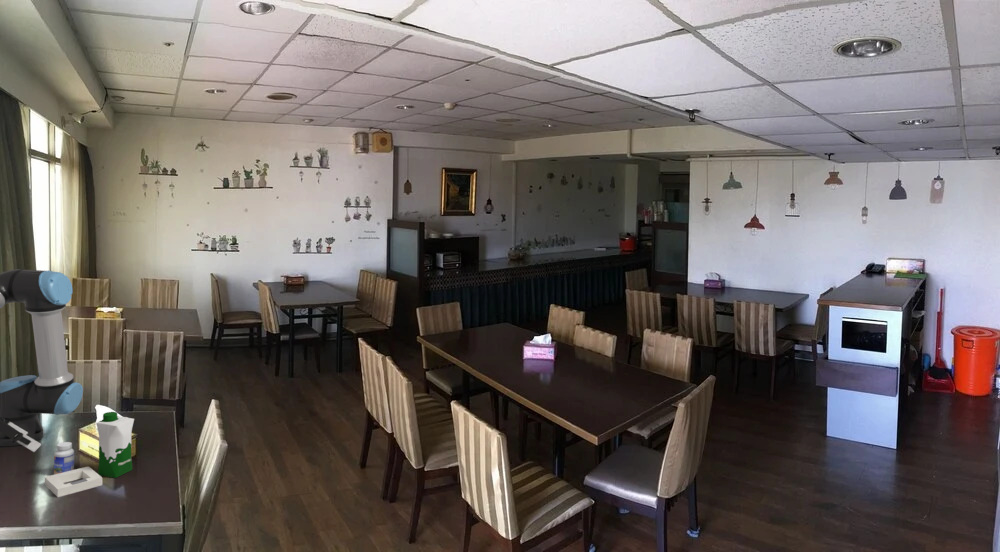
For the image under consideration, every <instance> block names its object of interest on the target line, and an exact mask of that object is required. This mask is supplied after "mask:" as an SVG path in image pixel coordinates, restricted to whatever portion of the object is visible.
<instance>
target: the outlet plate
mask: <svg viewBox="0 0 1000 552" xmlns="http://www.w3.org/2000/svg"><path fill="white" fill-rule="evenodd" d="M44 485H45V487H46V488H47V489H48V490H49V491H51V492H52V494H54V495H55V496H56V497H57V498H60V497H65V496H67V495H68V496H69V495H71V494H76V493H79V492H82V491H86V490H89V489H93V488H97V487H100V486H103V477H102V475H99V474H98V472H96V471H95V470H93V468H91V467H90V466H85V467H81V468H80V467H79V468H77V469H76V468H74V470H71V471H67V472H63V473H59V474H51V475H47V476H44Z"/></svg>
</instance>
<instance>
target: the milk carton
mask: <svg viewBox="0 0 1000 552" xmlns="http://www.w3.org/2000/svg"><path fill="white" fill-rule="evenodd" d="M134 421H135V418H131V417H127V416H120V415H118V412H116V411H108V412H104V413H103V414H102V419H101V420H99V421H97V422H95V424H96V428H97V433H98V469H97V474H99V475H100V476H101V477H102V476H103V477H107V478H115V479H116V478H118V477H120V476H123V475H124V474H127V473H128V472H129V473H130V472H131V471H132V470H133V461H132V431H133V426H134Z"/></svg>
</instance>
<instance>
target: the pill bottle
mask: <svg viewBox="0 0 1000 552" xmlns="http://www.w3.org/2000/svg"><path fill="white" fill-rule="evenodd" d="M72 447H73V443H72V442H70V441H64V442H59V443H57V444H56V450H55V452H53V453H54V454H53V475H55V474H59V473H63V472H67V471H71V470H75V449H73V448H72Z"/></svg>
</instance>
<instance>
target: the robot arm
mask: <svg viewBox="0 0 1000 552" xmlns="http://www.w3.org/2000/svg"><path fill="white" fill-rule="evenodd" d="M72 295H73V285H72V282H71V280H70V278H69V277H68V276H67V275H65V274H64V273H62V272H61V271H59V272H58V271H53V270H38V269H37V270H36V269H35V270H34V269H24V268H23V269H21V268H20V269H19V268H18V269H17V268H16V269H9V270H6V271H3V272H1V273H0V309H2V308H3V307H4V306H5V305H7V304H11V303H22V304H24V309H25V312H27V313H28V314H30V315H31V322H32V330H33V331H32V332H33V337H34V346H35V354H36V364H37V372H38V376H37V375H34V374H33V375H32V374H30V375H20V376H14V377H11V378H6V379H4V380H1V381H0V447H17V446H23V447H24V448H26V449H28V450H30V451H31V452H33V453H35V452H36V451H37V450H38V449H39V448H40V447H41V446H42V443H40V442H39V440H41V439H42V438H43V437H44V428H43V425H42V423H41V421H40V419H39V416H38V415H39V414H42V415H43V414H44V415H45V414H46V415H55V416H57V415H69V414H71V413H73V412H74V411H75V410H77V408H78V407H79V404H80V403H81V401H82V398H83V394H84V393H83V392H84V388H83V386H82V384H81V383H80V382H77V381H76V382H75V379H74V378H75V377H74V374H73V373H71V372H69V370H68V361H67V352H66V350H67V349H66V341H65V334H64V326H63V325H64V324H63V316H62V315H63V314H62V311H63V310H65V308H67V306H66V305H67V304H68V303H69V302H70V301H71V299H72Z"/></svg>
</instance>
